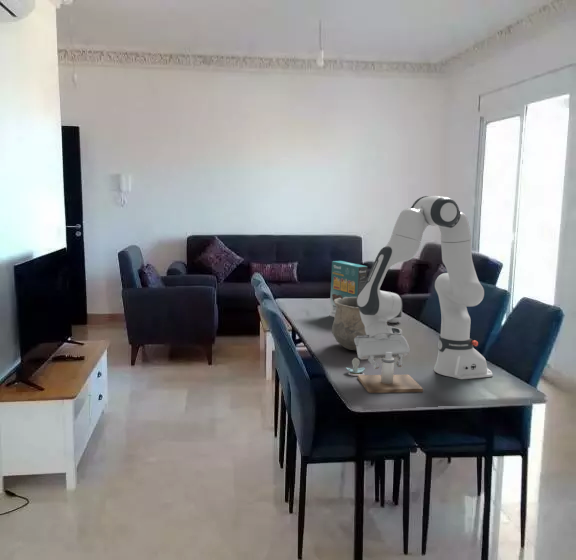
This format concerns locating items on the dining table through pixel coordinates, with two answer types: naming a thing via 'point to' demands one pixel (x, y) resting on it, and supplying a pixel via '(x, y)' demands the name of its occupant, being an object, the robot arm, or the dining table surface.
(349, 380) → the dining table surface
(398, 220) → the robot arm
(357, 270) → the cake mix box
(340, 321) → the pot
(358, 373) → the pacifier
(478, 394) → the dining table surface
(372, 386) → the board
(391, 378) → the white bar-topped cylinder
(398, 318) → the dark grey domed cylinder
